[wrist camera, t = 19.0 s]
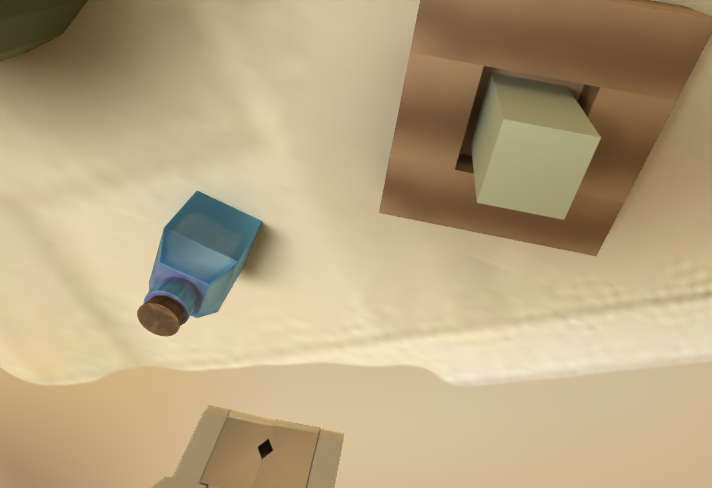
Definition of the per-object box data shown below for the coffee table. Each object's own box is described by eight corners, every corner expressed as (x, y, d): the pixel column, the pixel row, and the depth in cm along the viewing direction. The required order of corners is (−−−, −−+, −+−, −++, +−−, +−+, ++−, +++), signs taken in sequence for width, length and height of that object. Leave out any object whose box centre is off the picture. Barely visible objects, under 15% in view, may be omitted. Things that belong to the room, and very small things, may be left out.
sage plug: (491, 72, 33) (503, 119, 26) (566, 86, 33) (601, 137, 25) (470, 142, 36) (476, 202, 28) (539, 155, 36) (564, 219, 28)
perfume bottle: (262, 221, 44) (209, 310, 34) (241, 269, 48) (188, 362, 38) (197, 190, 44) (124, 272, 34) (181, 241, 47) (110, 329, 37)
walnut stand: (428, -39, 31) (426, -32, 28) (685, 6, 31) (718, 20, 27) (385, 185, 40) (379, 212, 37) (582, 223, 40) (596, 256, 36)
